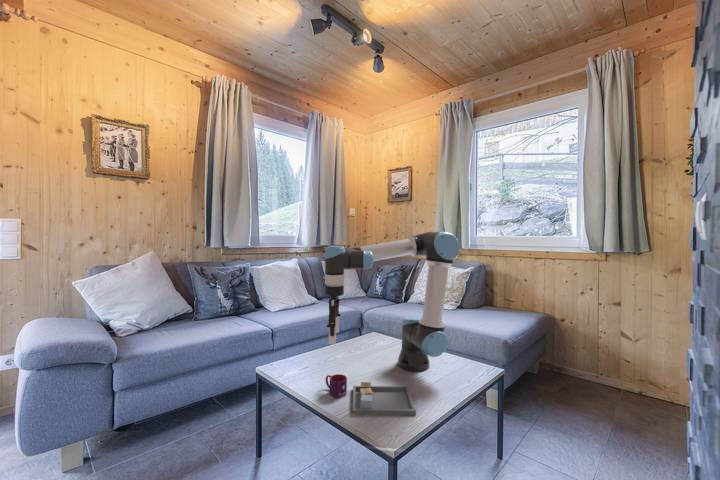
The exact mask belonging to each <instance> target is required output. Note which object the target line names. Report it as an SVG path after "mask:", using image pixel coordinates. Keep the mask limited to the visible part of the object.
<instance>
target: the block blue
mask: <svg viewBox="0 0 720 480" xmlns="http://www.w3.org/2000/svg"><path fill="white" fill-rule="evenodd" d="M372 407H373V395H362V397H361V409H372Z"/></svg>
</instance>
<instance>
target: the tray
mask: <svg viewBox="0 0 720 480" xmlns="http://www.w3.org/2000/svg"><path fill="white" fill-rule="evenodd" d="M352 388H353V389H352V415H353V416H416V415H417V414H416V413H417V411H416V407H415V404H414V401H413V399H412V398H413V397H412V395H411V393H410V389H409V385H371V390H372V392H373V407H372V409H361V400H360V389H361V385H352Z"/></svg>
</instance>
